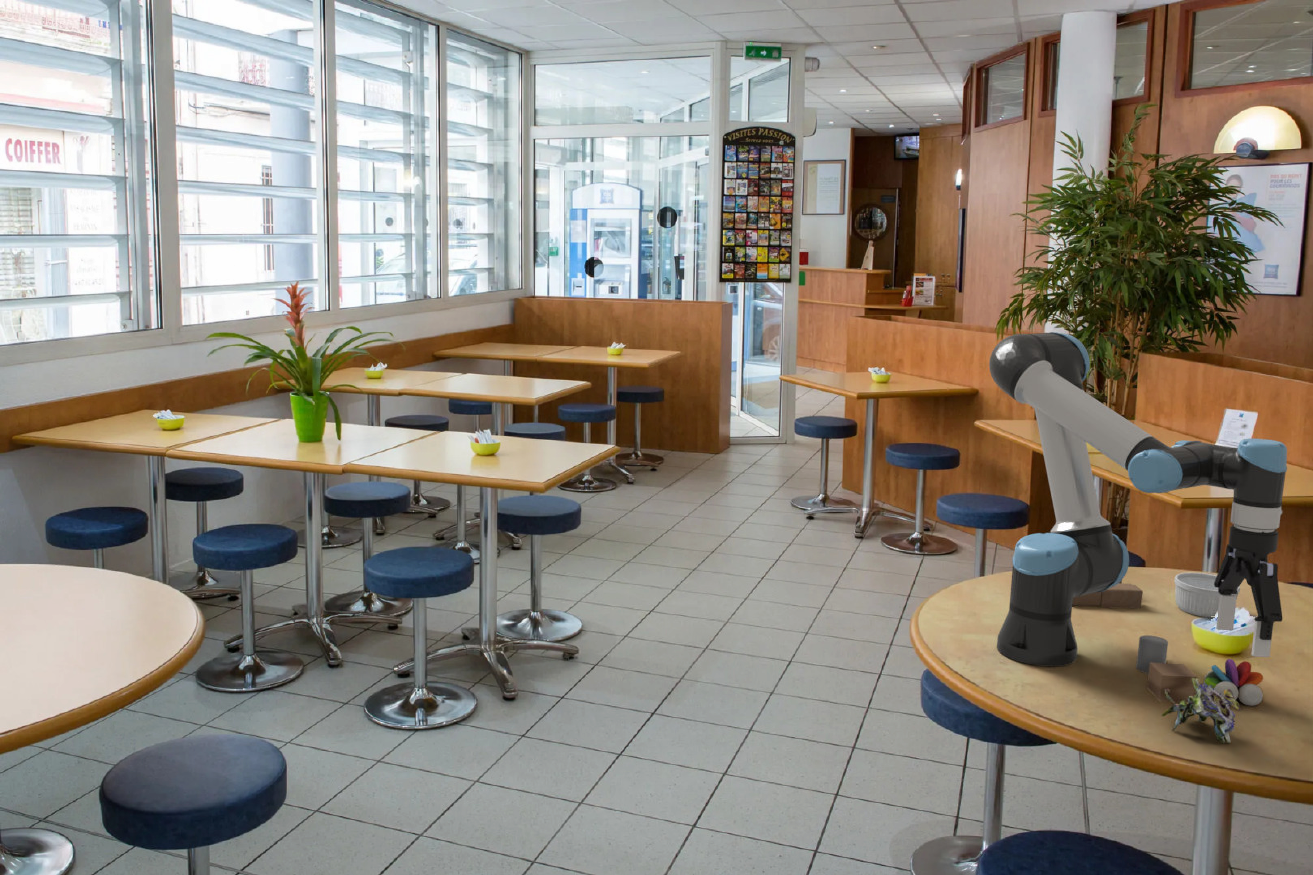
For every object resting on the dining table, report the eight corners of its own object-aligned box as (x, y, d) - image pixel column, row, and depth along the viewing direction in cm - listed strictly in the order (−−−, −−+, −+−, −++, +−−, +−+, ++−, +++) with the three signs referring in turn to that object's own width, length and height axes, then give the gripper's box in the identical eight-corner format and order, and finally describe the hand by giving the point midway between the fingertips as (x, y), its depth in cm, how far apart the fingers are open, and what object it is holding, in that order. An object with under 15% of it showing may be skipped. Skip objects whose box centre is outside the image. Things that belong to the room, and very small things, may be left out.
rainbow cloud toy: (1269, 710, 188) (1274, 672, 187) (1210, 704, 190) (1214, 666, 189) (1253, 691, 197) (1257, 654, 195) (1196, 686, 198) (1201, 649, 197)
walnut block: (1159, 701, 191) (1162, 675, 190) (1146, 687, 197) (1149, 662, 196) (1193, 703, 191) (1196, 676, 190) (1180, 689, 197) (1183, 664, 196)
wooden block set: (1148, 586, 240) (1067, 584, 241) (1145, 610, 241) (1065, 607, 242) (1118, 564, 257) (1043, 561, 258) (1116, 586, 258) (1041, 584, 259)
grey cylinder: (1141, 673, 203) (1145, 644, 202) (1132, 663, 208) (1135, 634, 207) (1168, 675, 203) (1172, 645, 202) (1158, 665, 208) (1161, 636, 207)
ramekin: (1246, 622, 234) (1249, 592, 233) (1182, 618, 236) (1185, 588, 235) (1224, 603, 247) (1227, 574, 245) (1164, 598, 249) (1167, 570, 247)
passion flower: (1219, 771, 177) (1245, 736, 168) (1150, 747, 180) (1172, 712, 171) (1225, 715, 184) (1250, 678, 175) (1158, 693, 187) (1179, 656, 178)
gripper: (1314, 546, 175) (1300, 669, 178) (1243, 511, 199) (1231, 620, 203) (1267, 544, 175) (1253, 667, 179) (1201, 510, 200) (1190, 618, 203)
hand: (1241, 642), depth 191 cm, fingers open, 13 cm apart
